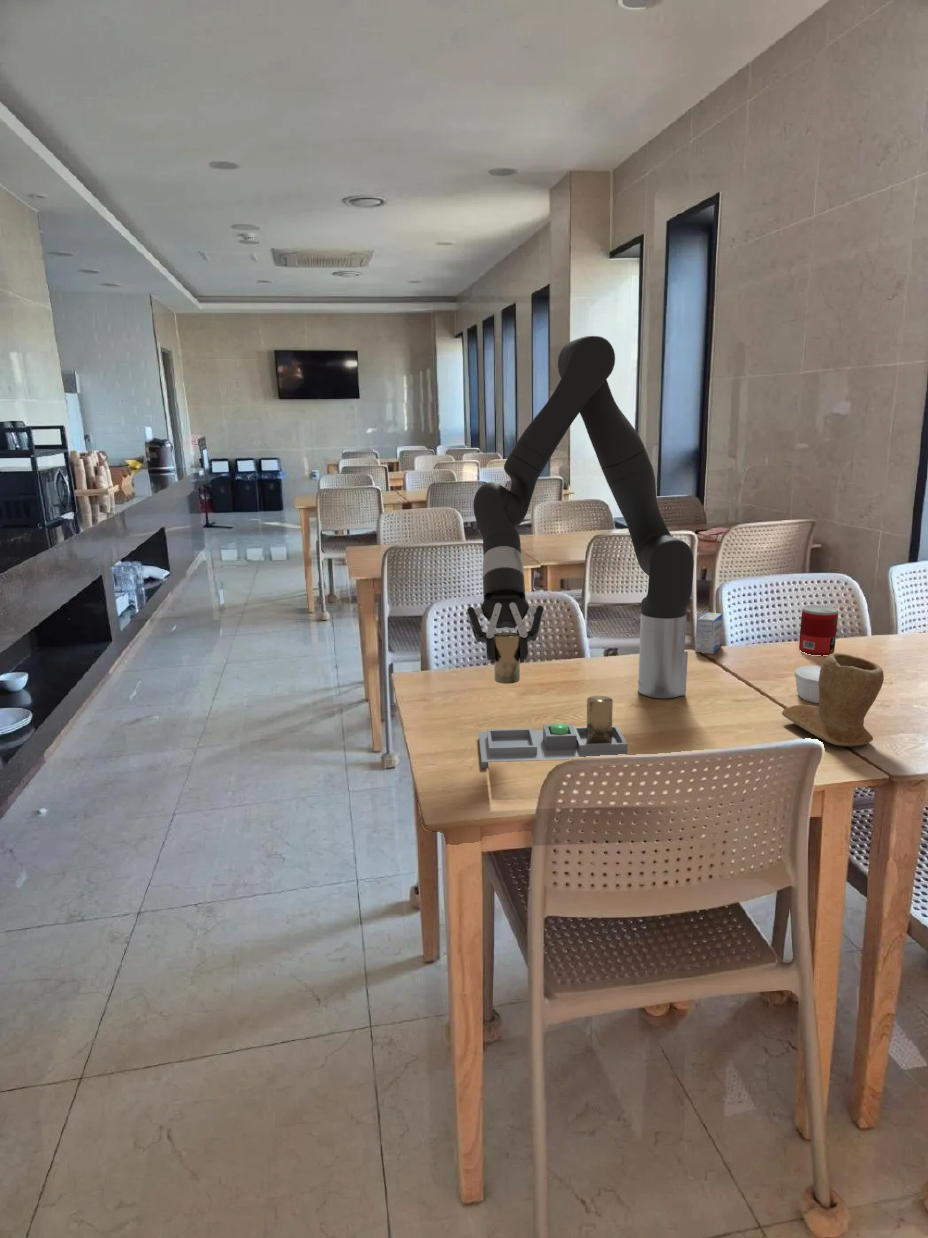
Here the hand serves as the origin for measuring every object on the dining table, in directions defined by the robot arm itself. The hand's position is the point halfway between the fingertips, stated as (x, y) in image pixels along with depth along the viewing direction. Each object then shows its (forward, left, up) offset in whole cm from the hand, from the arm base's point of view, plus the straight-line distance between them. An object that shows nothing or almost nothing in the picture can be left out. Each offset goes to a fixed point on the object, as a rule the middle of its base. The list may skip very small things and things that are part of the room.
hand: (507, 660), depth 133 cm
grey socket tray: (-8, 0, -17) cm, 19 cm away
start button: (-9, 0, -15) cm, 17 cm away
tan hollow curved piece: (-60, -4, -17) cm, 62 cm away
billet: (0, -2, -4) cm, 5 cm away
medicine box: (-55, -59, -17) cm, 82 cm away
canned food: (-80, -54, -17) cm, 98 cm away
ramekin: (-67, -23, -17) cm, 72 cm away
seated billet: (-16, 0, -16) cm, 23 cm away
